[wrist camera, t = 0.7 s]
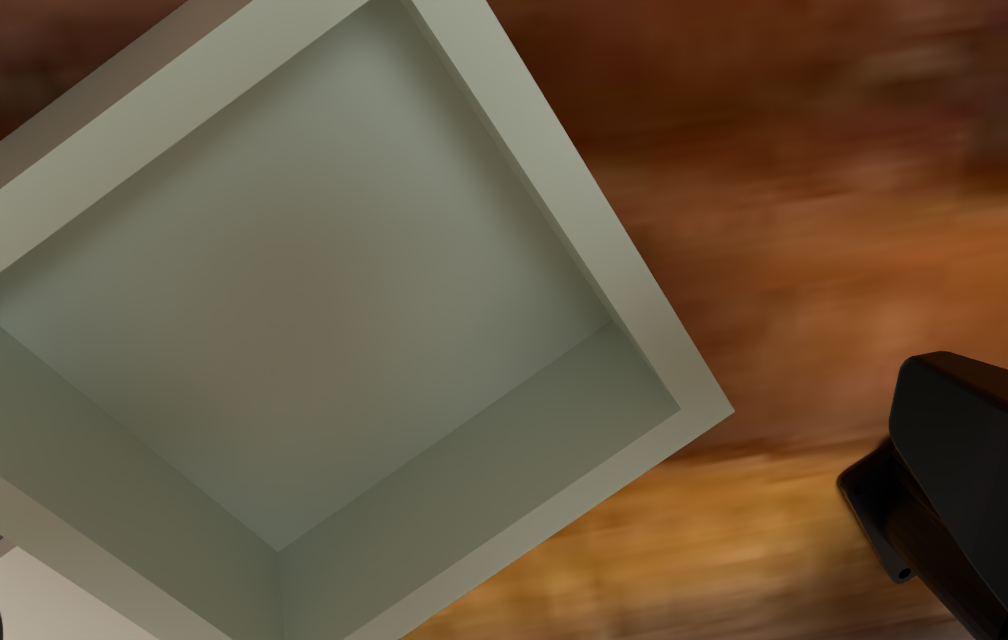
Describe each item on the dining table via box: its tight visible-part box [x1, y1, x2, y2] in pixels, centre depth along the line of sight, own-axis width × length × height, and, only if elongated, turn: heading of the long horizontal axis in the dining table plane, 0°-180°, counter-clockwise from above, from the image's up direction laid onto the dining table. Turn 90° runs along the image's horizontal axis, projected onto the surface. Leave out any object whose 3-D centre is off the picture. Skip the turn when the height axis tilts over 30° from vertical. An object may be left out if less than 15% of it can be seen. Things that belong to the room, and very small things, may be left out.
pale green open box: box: [0, 0, 735, 640], centre depth 19 cm, size 13×13×5 cm
